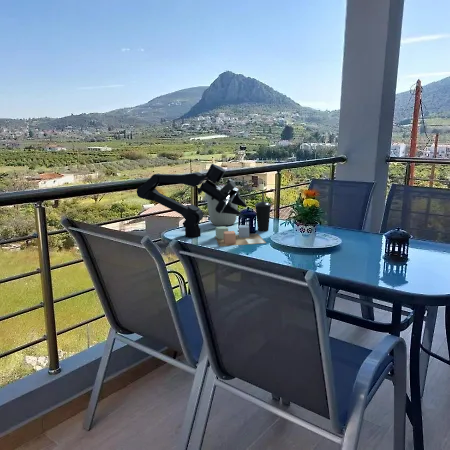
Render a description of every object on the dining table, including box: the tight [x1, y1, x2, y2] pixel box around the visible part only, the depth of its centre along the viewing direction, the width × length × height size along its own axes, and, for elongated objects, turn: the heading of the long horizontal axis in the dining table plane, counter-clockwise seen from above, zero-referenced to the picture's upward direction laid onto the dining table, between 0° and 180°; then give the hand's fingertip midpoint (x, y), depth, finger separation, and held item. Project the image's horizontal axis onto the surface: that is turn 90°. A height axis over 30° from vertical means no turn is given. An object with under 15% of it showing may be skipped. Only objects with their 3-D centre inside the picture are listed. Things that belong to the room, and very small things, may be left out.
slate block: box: [238, 224, 250, 238], centre depth 183 cm, size 4×4×4 cm
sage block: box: [215, 226, 229, 239], centre depth 181 cm, size 4×4×4 cm
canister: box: [204, 183, 241, 227], centre depth 212 cm, size 18×18×21 cm
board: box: [214, 233, 267, 247], centre depth 178 cm, size 20×17×1 cm
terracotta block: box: [224, 230, 237, 244], centre depth 172 cm, size 4×4×4 cm
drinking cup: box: [254, 190, 272, 232], centre depth 191 cm, size 8×8×20 cm
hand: (243, 210), depth 178 cm, fingers open, 9 cm apart
